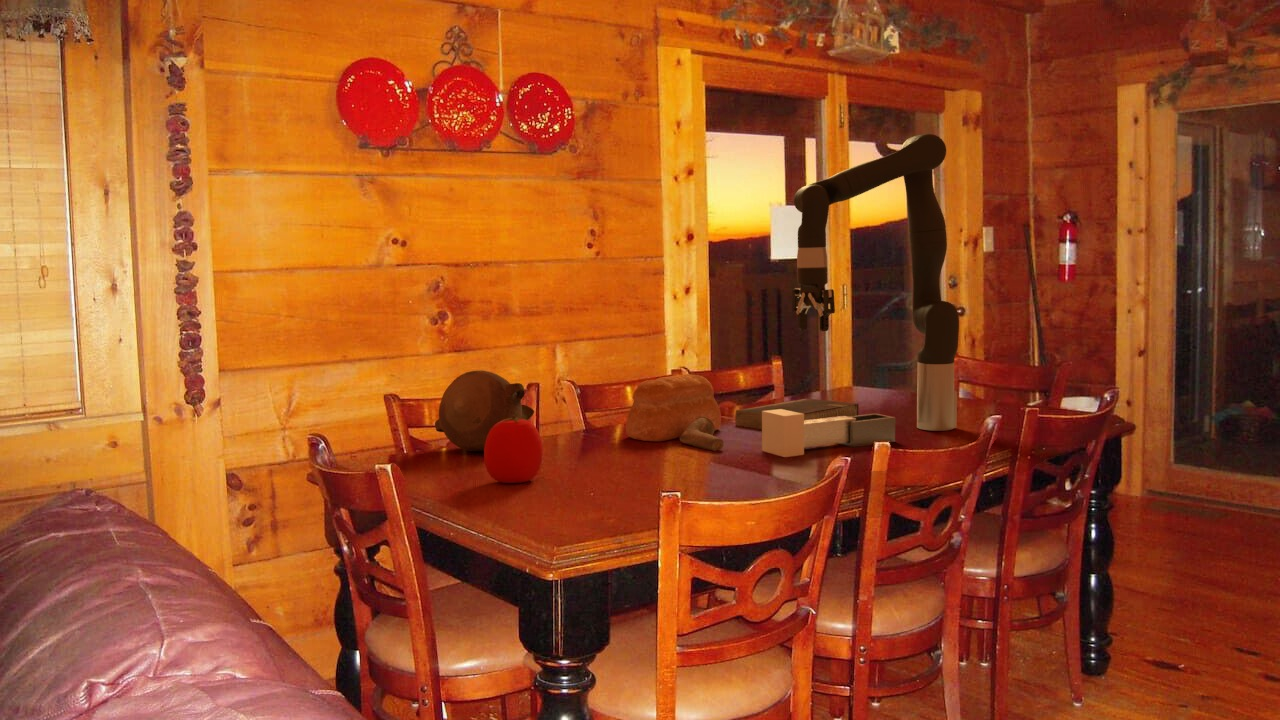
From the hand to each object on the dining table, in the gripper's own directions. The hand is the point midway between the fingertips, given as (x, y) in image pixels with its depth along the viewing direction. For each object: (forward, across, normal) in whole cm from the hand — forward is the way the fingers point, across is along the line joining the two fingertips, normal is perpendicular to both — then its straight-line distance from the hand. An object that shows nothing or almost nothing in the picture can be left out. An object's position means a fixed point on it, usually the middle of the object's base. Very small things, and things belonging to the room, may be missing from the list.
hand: (813, 330), depth 270 cm
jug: (+26, +31, +75) cm, 85 cm away
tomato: (+26, -8, +86) cm, 90 cm away
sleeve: (+27, -15, -3) cm, 31 cm away
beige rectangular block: (+26, -15, +11) cm, 33 cm away
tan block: (+26, -15, +21) cm, 37 cm away
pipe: (+27, +3, +30) cm, 41 cm away
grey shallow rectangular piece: (+27, +17, -7) cm, 33 cm away
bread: (+26, +21, +29) cm, 45 cm away
